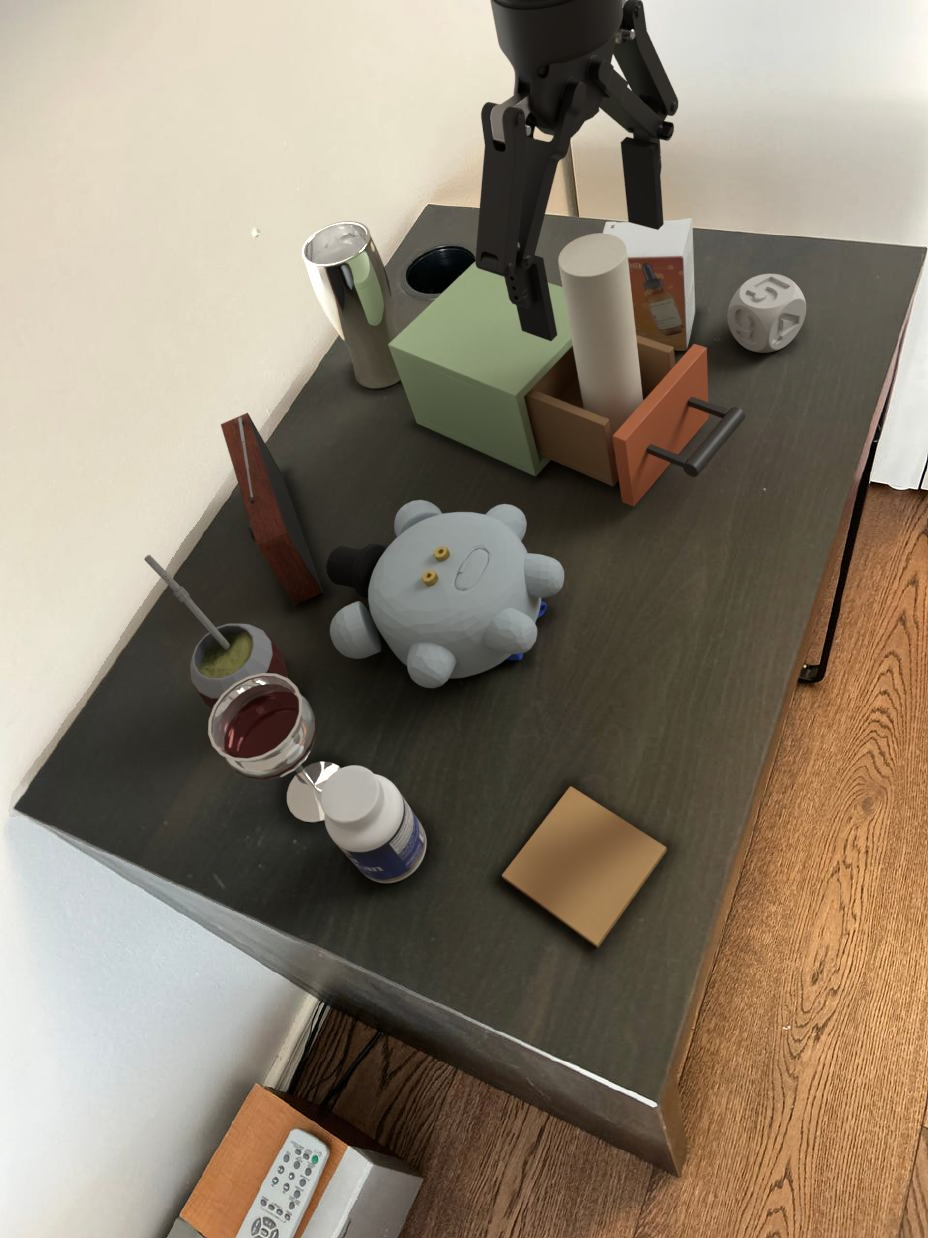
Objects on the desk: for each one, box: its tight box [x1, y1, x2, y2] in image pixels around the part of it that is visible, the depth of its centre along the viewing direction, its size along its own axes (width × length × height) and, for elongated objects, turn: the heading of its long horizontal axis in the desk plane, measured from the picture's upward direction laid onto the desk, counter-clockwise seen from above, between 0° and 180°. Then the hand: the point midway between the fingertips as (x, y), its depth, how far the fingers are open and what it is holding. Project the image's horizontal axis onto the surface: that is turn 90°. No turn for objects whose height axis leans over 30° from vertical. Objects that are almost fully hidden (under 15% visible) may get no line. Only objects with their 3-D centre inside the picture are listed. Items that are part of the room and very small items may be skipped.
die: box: [726, 273, 807, 354], centre depth 88 cm, size 5×5×5 cm
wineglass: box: [207, 673, 342, 823], centre depth 69 cm, size 7×7×12 cm
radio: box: [220, 412, 324, 606], centre depth 83 cm, size 19×3×15 cm, turn 20°
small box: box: [602, 217, 696, 352], centre depth 90 cm, size 8×6×10 cm
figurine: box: [325, 499, 565, 689], centre depth 78 cm, size 17×8×20 cm
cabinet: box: [388, 261, 573, 477], centre depth 89 cm, size 15×13×10 cm
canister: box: [557, 232, 643, 451], centre depth 78 cm, size 5×5×18 cm
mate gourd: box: [143, 554, 289, 710], centre depth 74 cm, size 8×8×15 cm
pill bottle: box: [320, 764, 427, 884], centre depth 66 cm, size 5×5×10 cm
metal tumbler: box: [301, 220, 401, 390], centre depth 94 cm, size 7×7×15 cm
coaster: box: [501, 785, 668, 948], centre depth 66 cm, size 8×8×1 cm
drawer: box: [524, 335, 746, 507], centre depth 82 cm, size 18×12×8 cm, turn 50°
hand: (594, 276), depth 72 cm, fingers open, 13 cm apart
